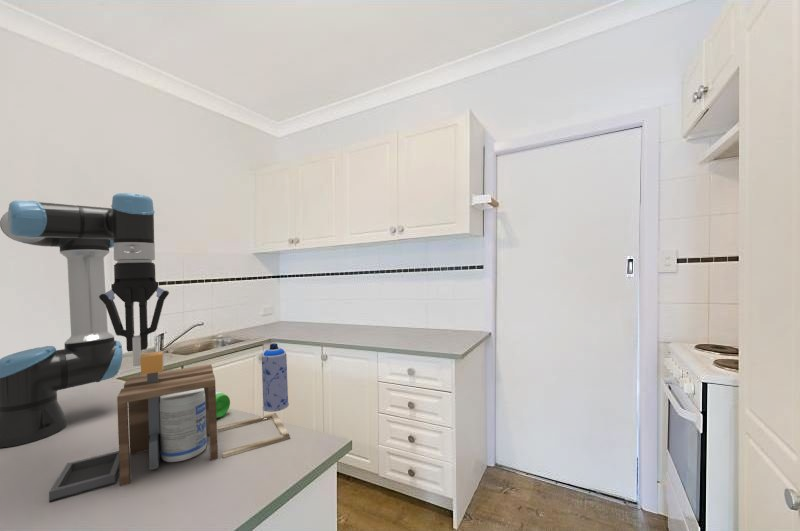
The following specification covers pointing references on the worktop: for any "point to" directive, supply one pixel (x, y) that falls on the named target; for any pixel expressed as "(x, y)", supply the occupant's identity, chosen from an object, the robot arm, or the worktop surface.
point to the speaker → (222, 404)
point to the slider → (153, 403)
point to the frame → (262, 443)
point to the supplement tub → (182, 425)
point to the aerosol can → (274, 379)
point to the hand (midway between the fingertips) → (137, 364)
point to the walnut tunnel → (169, 383)
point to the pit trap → (86, 476)
